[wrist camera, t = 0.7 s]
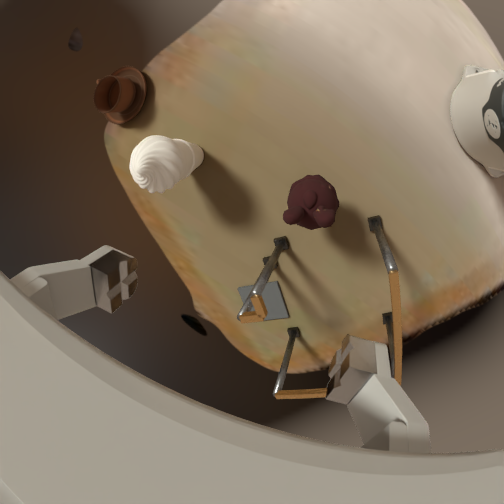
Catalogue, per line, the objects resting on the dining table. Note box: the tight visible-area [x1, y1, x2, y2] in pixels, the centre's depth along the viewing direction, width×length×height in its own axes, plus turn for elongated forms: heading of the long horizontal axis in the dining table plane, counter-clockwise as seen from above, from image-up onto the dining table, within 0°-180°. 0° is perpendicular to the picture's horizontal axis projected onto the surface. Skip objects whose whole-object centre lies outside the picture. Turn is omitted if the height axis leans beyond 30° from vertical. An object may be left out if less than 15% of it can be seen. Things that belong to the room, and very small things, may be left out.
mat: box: [238, 281, 289, 320], centre depth 53 cm, size 8×8×1 cm
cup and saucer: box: [94, 66, 146, 124], centre depth 40 cm, size 12×12×6 cm
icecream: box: [283, 175, 339, 230], centre depth 35 cm, size 7×7×15 cm
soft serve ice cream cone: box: [130, 135, 204, 193], centre depth 38 cm, size 8×8×16 cm
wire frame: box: [237, 216, 402, 399], centre depth 40 cm, size 21×21×17 cm
